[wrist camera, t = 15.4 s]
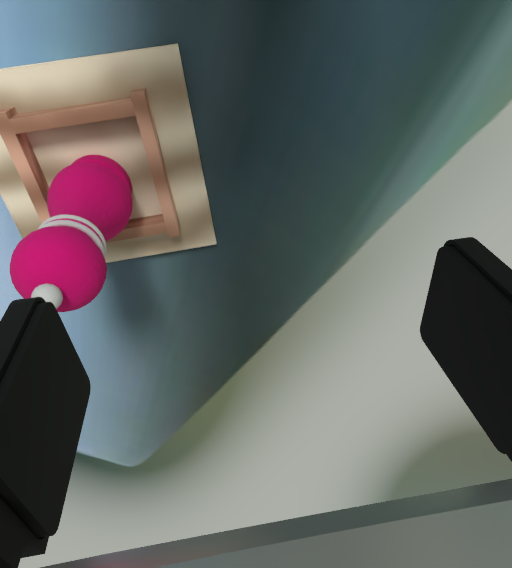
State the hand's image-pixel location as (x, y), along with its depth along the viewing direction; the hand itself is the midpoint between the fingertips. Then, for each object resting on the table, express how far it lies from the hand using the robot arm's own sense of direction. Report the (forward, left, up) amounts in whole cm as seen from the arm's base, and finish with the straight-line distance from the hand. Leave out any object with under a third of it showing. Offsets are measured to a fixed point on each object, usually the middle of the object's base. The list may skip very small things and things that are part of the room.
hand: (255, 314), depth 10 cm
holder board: (+6, -12, -34) cm, 37 cm away
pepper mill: (+7, -12, -34) cm, 36 cm away
